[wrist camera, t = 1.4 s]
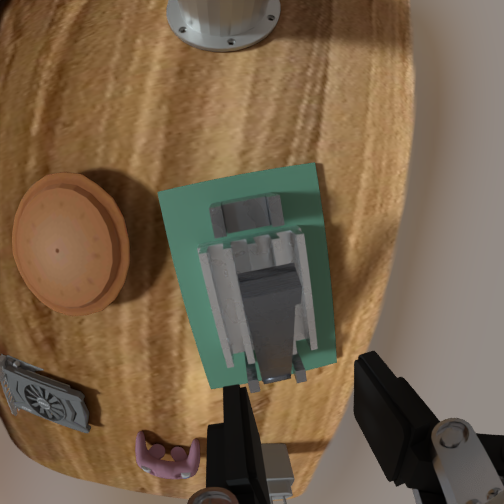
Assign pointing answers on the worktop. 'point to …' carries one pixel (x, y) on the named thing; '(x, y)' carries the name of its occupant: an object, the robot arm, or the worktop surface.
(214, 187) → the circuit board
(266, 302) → the grey lever rod
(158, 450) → the video game controller
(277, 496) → the power adapter
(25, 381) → the graphics card
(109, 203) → the pie
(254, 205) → the heat sink
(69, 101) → the worktop surface
